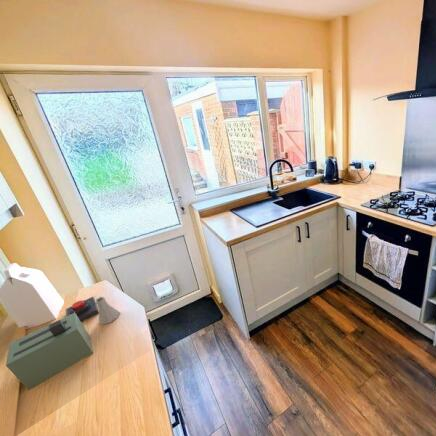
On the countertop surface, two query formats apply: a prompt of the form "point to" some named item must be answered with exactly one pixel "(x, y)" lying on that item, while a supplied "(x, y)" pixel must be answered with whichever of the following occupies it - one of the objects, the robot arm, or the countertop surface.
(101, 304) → the flask
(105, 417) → the countertop surface
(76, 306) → the power button
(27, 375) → the toaster
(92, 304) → the block
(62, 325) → the toaster slider
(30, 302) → the milk
